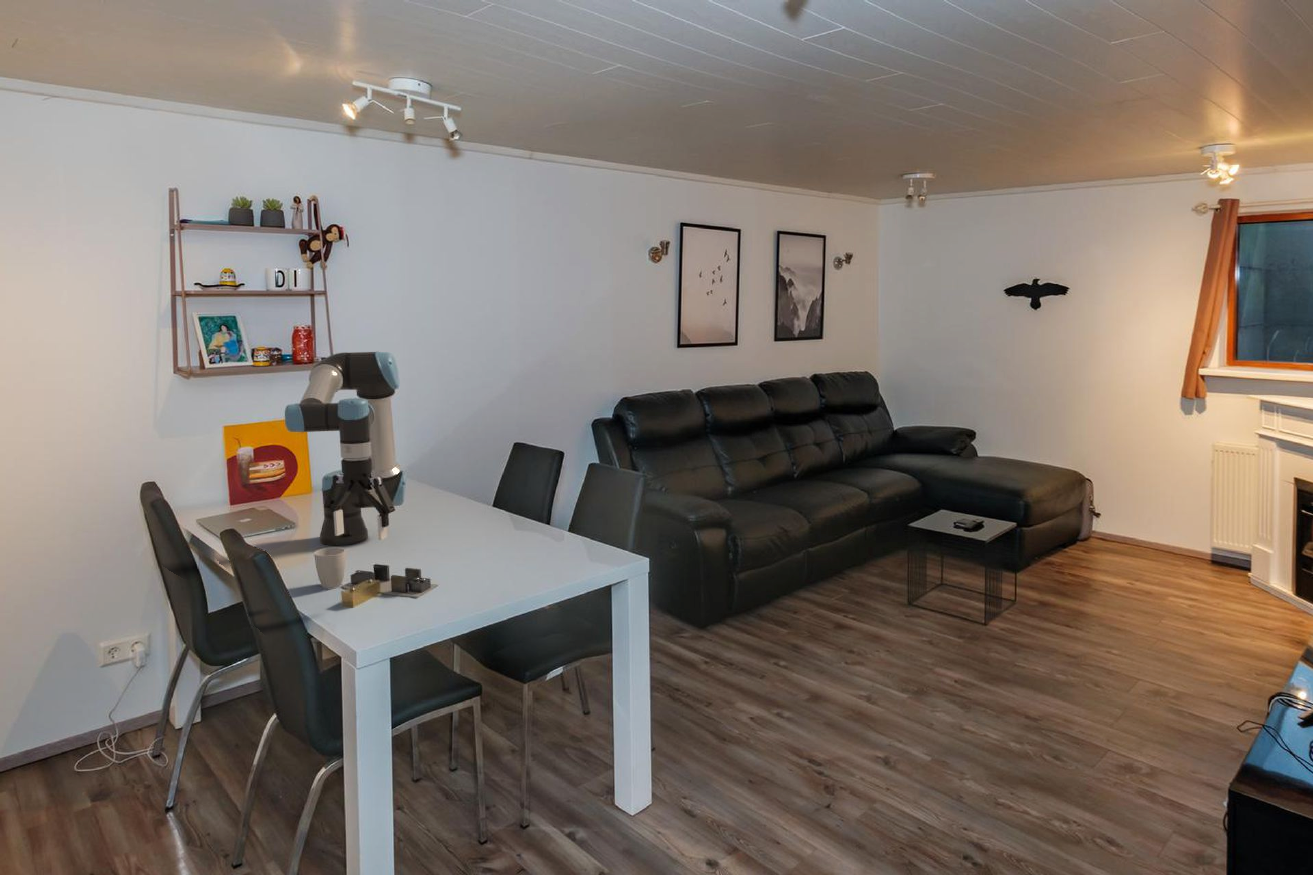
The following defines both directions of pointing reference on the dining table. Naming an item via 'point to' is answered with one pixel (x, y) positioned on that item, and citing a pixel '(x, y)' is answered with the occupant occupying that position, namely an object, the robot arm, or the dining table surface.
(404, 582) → the grey assembly fixture
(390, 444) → the robot arm
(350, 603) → the gold rectangular block
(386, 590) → the mat
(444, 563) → the dining table surface
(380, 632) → the dining table surface
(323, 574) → the cup
